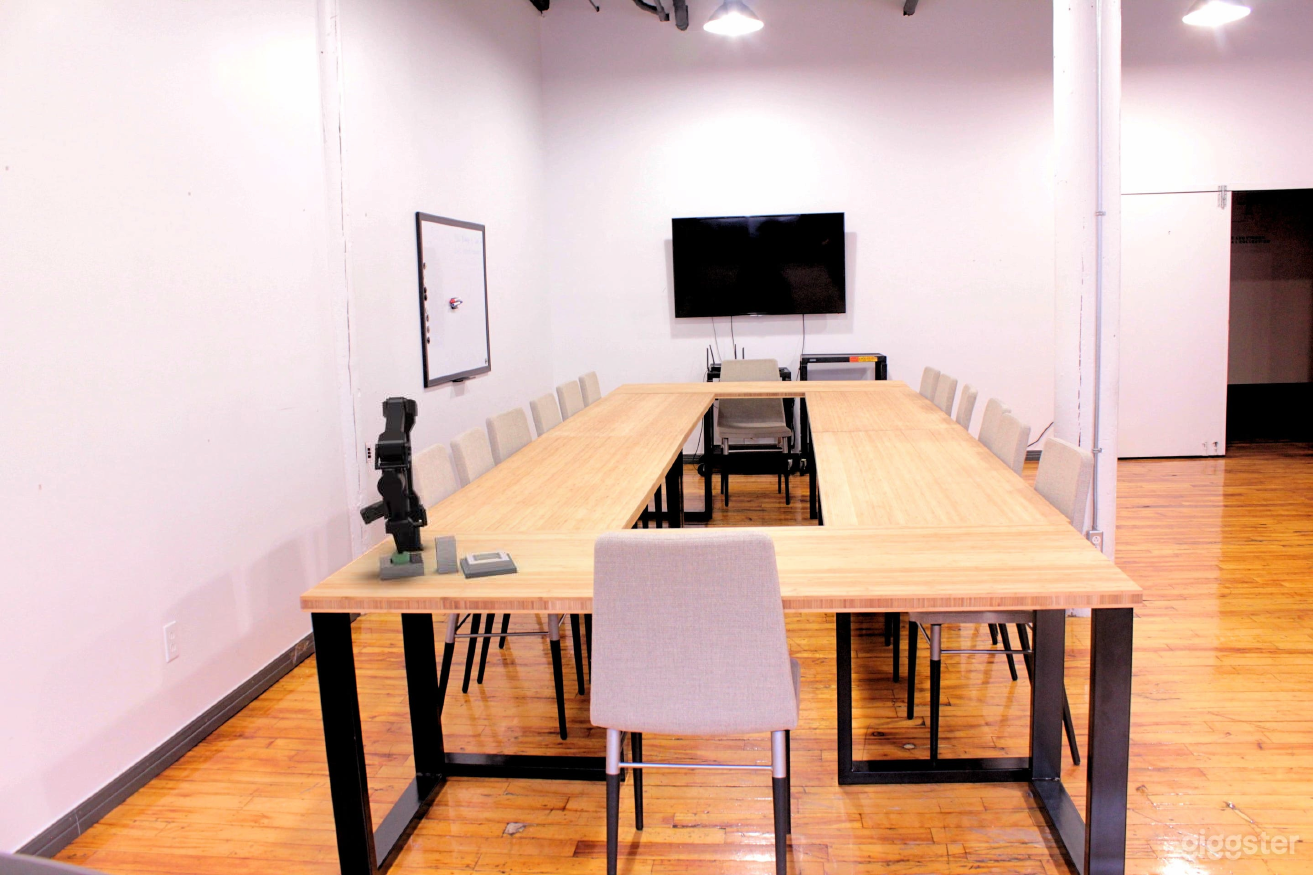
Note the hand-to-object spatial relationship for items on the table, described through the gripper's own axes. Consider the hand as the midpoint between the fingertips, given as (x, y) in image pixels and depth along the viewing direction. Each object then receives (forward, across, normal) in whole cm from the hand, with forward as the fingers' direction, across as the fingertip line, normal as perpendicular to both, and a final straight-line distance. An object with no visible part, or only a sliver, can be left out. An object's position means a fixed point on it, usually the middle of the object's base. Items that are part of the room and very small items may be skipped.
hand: (400, 553), depth 238 cm
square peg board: (+4, 0, 0) cm, 5 cm away
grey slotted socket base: (+4, +5, +20) cm, 21 cm away
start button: (+4, 0, 0) cm, 4 cm away
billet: (+5, +4, +10) cm, 12 cm away
